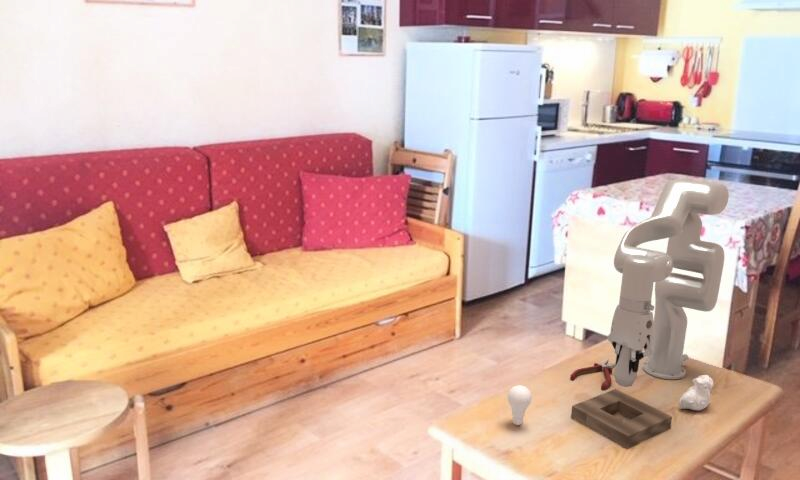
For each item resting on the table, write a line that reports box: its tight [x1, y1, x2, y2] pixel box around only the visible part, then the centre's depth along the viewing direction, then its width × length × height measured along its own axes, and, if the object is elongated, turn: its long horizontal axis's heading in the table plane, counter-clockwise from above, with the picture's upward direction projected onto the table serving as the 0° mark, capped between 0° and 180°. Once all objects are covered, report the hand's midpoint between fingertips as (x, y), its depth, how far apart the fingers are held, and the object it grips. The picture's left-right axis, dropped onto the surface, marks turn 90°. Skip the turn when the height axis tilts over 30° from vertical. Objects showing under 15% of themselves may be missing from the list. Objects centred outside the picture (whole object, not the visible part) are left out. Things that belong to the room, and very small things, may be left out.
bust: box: [678, 374, 714, 412], centre depth 188 cm, size 12×8×11 cm
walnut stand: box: [570, 388, 673, 450], centre depth 180 cm, size 18×18×4 cm
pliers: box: [569, 358, 616, 391], centre depth 209 cm, size 12×20×3 cm, turn 142°
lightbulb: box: [507, 384, 533, 426], centre depth 177 cm, size 6×6×11 cm
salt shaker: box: [612, 342, 638, 388], centre depth 176 cm, size 6×6×13 cm
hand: (626, 370), depth 177 cm, fingers closed on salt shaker, 3 cm apart
